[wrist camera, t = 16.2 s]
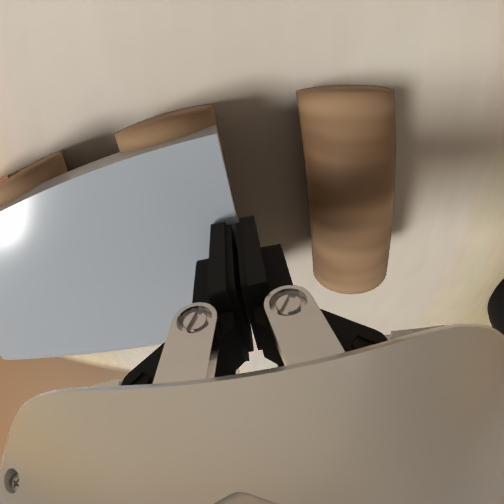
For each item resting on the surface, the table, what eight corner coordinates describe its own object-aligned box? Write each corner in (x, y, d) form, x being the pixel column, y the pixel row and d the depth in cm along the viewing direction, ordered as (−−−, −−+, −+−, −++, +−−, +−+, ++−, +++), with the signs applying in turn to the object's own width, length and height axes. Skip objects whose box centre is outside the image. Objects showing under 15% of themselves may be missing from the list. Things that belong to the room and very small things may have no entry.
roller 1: (22, 168, 14) (-21, 199, 10) (74, 144, 13) (30, 173, 10) (83, 292, 19) (61, 338, 16) (133, 285, 19) (116, 335, 15)
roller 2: (288, 89, 13) (309, 96, 10) (368, 84, 13) (412, 93, 9) (306, 253, 19) (323, 301, 15) (370, 241, 19) (398, 284, 15)
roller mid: (133, 122, 13) (98, 144, 10) (216, 101, 13) (208, 113, 10) (183, 275, 19) (173, 326, 15) (250, 264, 19) (254, 316, 15)
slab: (216, 124, 11) (216, 133, 9) (255, 295, 16) (261, 324, 14) (-51, 234, 11) (-70, 253, 9) (14, 337, 16) (4, 359, 14)
